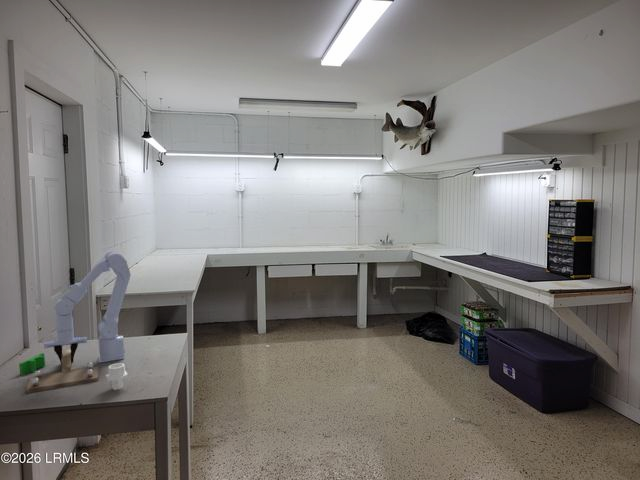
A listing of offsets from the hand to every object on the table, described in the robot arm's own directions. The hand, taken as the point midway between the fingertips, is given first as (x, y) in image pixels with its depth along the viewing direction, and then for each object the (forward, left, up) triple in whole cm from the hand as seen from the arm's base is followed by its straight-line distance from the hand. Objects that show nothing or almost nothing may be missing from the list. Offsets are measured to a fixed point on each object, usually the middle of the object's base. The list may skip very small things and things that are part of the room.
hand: (67, 362), depth 172 cm
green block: (+11, -3, -2) cm, 11 cm away
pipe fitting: (-17, +31, -2) cm, 35 cm away
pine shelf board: (0, 0, -1) cm, 1 cm away
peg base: (0, +15, -1) cm, 15 cm away
